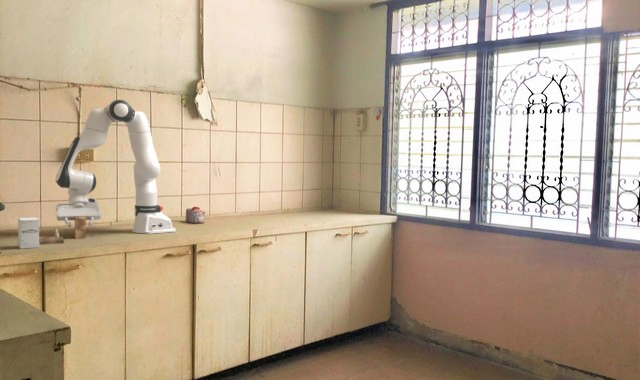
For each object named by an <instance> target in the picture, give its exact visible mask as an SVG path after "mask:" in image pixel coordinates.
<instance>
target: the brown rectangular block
mask: <svg viewBox="0 0 640 380" xmlns="http://www.w3.org/2000/svg"><path fill="white" fill-rule="evenodd" d="M74 238H75V240H79V239H87V220H86V217H75V220H74Z"/></svg>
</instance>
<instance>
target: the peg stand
mask: <svg viewBox="0 0 640 380" xmlns="http://www.w3.org/2000/svg"><path fill="white" fill-rule="evenodd" d="M64 243H65V242H64V237H63V235H60V232H59V229H58V228H54V229H53V235H52V236H51V235H50V236H49V235H48V236H39V245H51V244H52V245H54V244H55V245H56V244H64Z"/></svg>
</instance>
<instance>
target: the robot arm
mask: <svg viewBox="0 0 640 380" xmlns="http://www.w3.org/2000/svg"><path fill="white" fill-rule="evenodd" d="M122 122H123V123H124V124H125V125H126V128H127V132H128V137H129V142H130V149H131V150H132V153H133V156H134V160H135V162H134V164H133V180H134V186H135V204H134V216H135V217H134V224H133V227H132V228H133V229H132V233H136V234H137V233H139V234H148V235H150V234H152V235H153V234H162V233H163V234H164V233H175V232H177V228H176V227H173V222H172V219H171V218H170V217H169V216H167V215H166V214H164V213H163V212H162V211H163V210H164V206H162V205H159V204H158V188H157V187H158V186H157V180H156V178H158V176H160V174H161V170H162V169H161V166H160V165H161V164H160V162H159V159H158V155H157V152H156V149H155V146H154V142H153V137H152V131H151V128H150V124H149V121H148V118H147V115H146V114H145V113H144V112H143V111H140V110H134V108H133V107H132V106H131V104H130V103H128V102H127V101H126V100H123V99H115V100H112V101H110V103H109V104H108V105H107V106H106V107H104V109H102V108H94V109H92V110H90V111H89V113H88V115H87V119H86V121H85V124H84V128H83V130H82V132H81V134H80V135H78V136H75V138H73V140H72V142H71V144H70V146H69V147H68V150H67V152H66V154H65V157H64V158H63V161H62V163H61V165H60V167H59V168H58V170H57V172H56V175H55V183H56V184H57V186H58V187H60V188H62V189H63V188H64V189H67V193H68V194H67V195H68V203H59V204H57V205H56V206H55V211H56V220H57V221H59V222H60V221H63V222H64V223H65V224H66V225H67V227H68V228H71V226H72V222H71V221H75V217H86V221H88V220H89V221H88V227H93V223H94V221H95V220H96V221H98V220H101V218H102V210H101V207H100V206H101V205H99V204H98V199H96V198H91V197H89V196H88V194H90V193H91V192H93V191H94V190H95V189H96V187H97V177H96V176H95V174H94V173H93V172H90V171H85V170H80V169H75V168H72V167H73V165H74V163H75V161H76V158H77V156H78V154H79V153H80V152H81V151H84V150H89V149H91V150H92V149H96V148H100V147H101V146H102V145H104V143H105V142H106V141H107V140H106V139H107V136H108V133H109V127H110V126H111V124H112V123H122Z"/></svg>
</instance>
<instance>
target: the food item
mask: <svg viewBox="0 0 640 380" xmlns="http://www.w3.org/2000/svg"><path fill="white" fill-rule="evenodd" d="M205 219H206V210H203V209H201V207H199V206H193V207H189V208H186V209H185V221H186V223H187V222H188V223H189V224H195V225H196V224H197V225H198V224H199V225H200V224H205Z"/></svg>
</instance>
